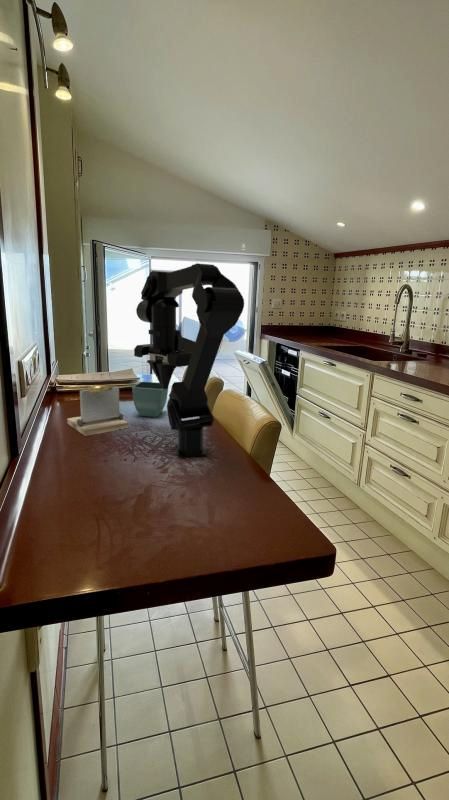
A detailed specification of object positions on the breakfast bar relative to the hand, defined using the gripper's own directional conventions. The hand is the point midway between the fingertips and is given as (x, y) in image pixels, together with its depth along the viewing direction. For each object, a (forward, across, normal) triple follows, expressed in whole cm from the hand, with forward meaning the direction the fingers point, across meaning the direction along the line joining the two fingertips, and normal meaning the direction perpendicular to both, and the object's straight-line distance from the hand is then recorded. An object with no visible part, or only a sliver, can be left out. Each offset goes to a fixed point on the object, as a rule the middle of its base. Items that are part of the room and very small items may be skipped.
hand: (165, 388), depth 107 cm
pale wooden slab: (+12, +16, +11) cm, 22 cm away
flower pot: (+12, +16, -7) cm, 22 cm away
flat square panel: (+9, +14, +11) cm, 20 cm away
